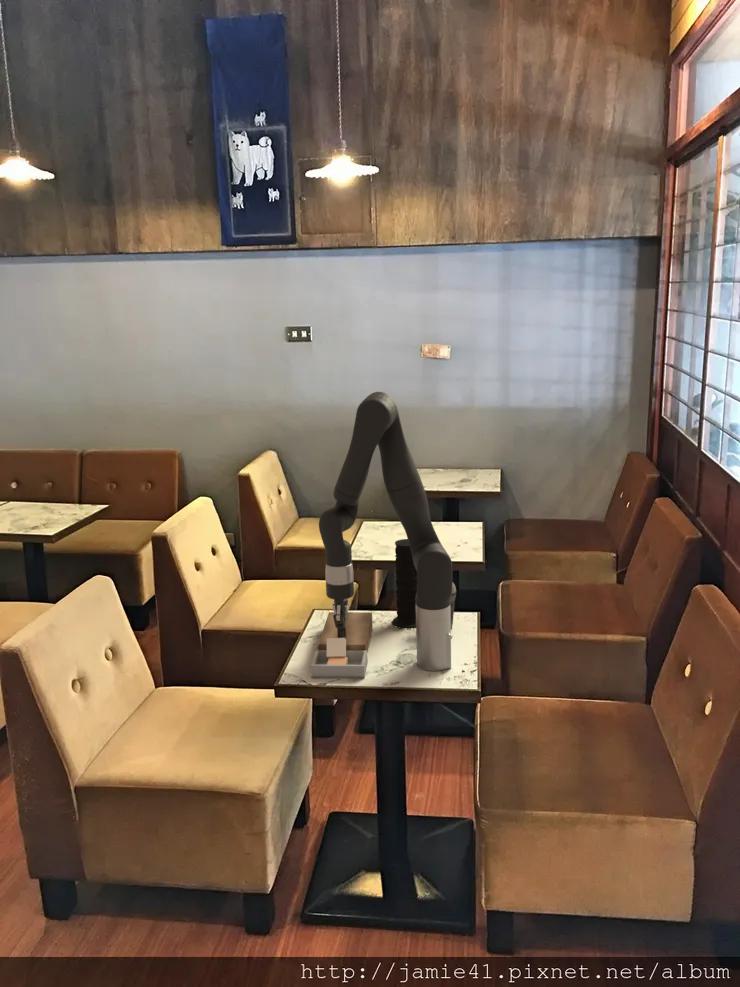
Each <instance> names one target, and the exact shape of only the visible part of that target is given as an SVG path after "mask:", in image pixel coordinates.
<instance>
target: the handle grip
mask: <svg viewBox="0 0 740 987" xmlns="http://www.w3.org/2000/svg"><path fill="white" fill-rule="evenodd" d="M394 545H395V548H394V549H395V550H394V552H395V578H396V579H395V584H396V585H395V587H396V590H395V591H396V592H395V593H396V608H397V609H396V617H394V618H393V619H392V621H391V624H392V626H394V625H395V626H397V627H396V628H398V627H400V628H399V629H403V628H407V629H406V630H412V629H411V628H413V629H416V593H417V570H416V568H415V566H414V563H413V558H412V553H411V549H410V545H409V542H408V538H404V539H397V540H396V541H395V542H394ZM395 626H394V627H395Z"/></svg>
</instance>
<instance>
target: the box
mask: <svg viewBox="0 0 740 987" xmlns="http://www.w3.org/2000/svg"><path fill="white" fill-rule="evenodd" d="M346 657H348V665H327V662H328V658H327V650H318V649H316V650H315V652H314V655H313V658H312V661H311V664H310V676H311V679H363V678H364V679H365V677H366V673H367V667H368V654H367V650H346Z"/></svg>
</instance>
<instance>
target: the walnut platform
mask: <svg viewBox="0 0 740 987" xmlns="http://www.w3.org/2000/svg"><path fill="white" fill-rule="evenodd" d="M333 616H334V611H333V612H332V611H331V612H330V611H329V612H328V614H327V617H326V620H325V623H324V625H323V629H322V631H321V634H320V637H319V640H318V642H317V650H327V638H338V632H337V628H336V627H335V622H334V618H333ZM347 617H348V619H347V620H346V621H347V624H346V650H367V653H369V649H368V648H370V644H369V643H371V639H370V638H372V634H371V633H373V629H372V628H373V627H374V626H373V624H374V623H373V612H367V611H366V612H364V611H363V612H359V611H358V612H355V611H354V612H350V611H348V616H347Z"/></svg>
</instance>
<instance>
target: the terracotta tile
mask: <svg viewBox="0 0 740 987" xmlns="http://www.w3.org/2000/svg"><path fill="white" fill-rule="evenodd" d="M327 665H348V657H329V659H328V662H327Z"/></svg>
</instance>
